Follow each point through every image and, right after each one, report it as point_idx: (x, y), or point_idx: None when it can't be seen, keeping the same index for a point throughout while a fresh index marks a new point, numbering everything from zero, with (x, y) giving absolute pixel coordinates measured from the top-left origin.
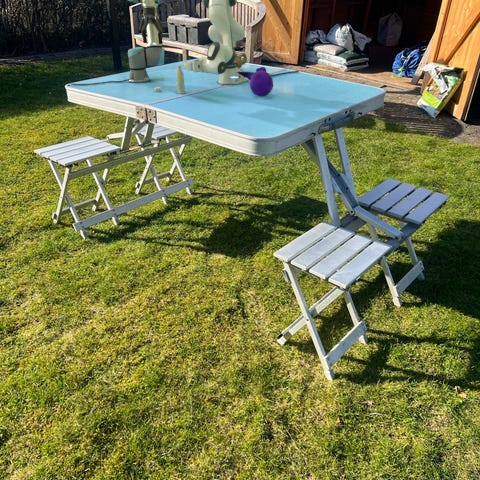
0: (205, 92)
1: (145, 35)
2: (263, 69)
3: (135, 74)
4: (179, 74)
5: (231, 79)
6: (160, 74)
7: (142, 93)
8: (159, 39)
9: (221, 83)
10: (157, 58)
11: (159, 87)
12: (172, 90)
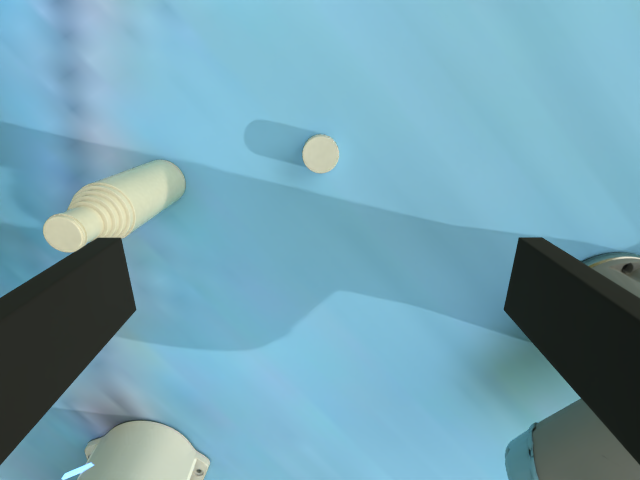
0: (65, 255)
1: (603, 385)
2: None
3: (629, 287)
4: (80, 190)
5: (95, 455)
6: None
7: (365, 46)
8: (34, 282)
9: (147, 422)
10: (546, 451)
11: (315, 167)
12: (257, 209)
